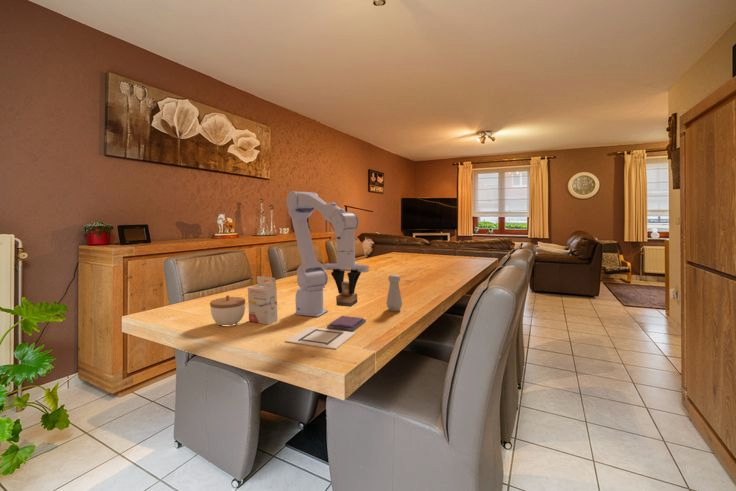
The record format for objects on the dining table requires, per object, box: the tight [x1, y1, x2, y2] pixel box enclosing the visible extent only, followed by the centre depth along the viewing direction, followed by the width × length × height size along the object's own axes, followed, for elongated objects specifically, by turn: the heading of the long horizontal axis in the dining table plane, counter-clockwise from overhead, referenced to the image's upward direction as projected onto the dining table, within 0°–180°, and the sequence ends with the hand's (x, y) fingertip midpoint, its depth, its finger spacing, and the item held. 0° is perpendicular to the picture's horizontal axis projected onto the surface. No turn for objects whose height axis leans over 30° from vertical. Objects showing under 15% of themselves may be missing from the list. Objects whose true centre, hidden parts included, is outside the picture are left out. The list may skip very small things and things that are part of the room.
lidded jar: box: [209, 295, 246, 326], centre depth 115 cm, size 11×11×9 cm
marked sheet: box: [284, 326, 357, 350], centre depth 101 cm, size 16×13×1 cm
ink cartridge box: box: [247, 276, 278, 326], centre depth 117 cm, size 9×5×15 cm, turn 65°
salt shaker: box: [386, 274, 403, 312], centre depth 129 cm, size 6×6×13 cm
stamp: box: [335, 280, 358, 308], centre depth 112 cm, size 5×5×7 cm
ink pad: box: [326, 315, 367, 332], centre depth 113 cm, size 9×10×1 cm
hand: (346, 293), depth 112 cm, fingers closed on stamp, 3 cm apart
